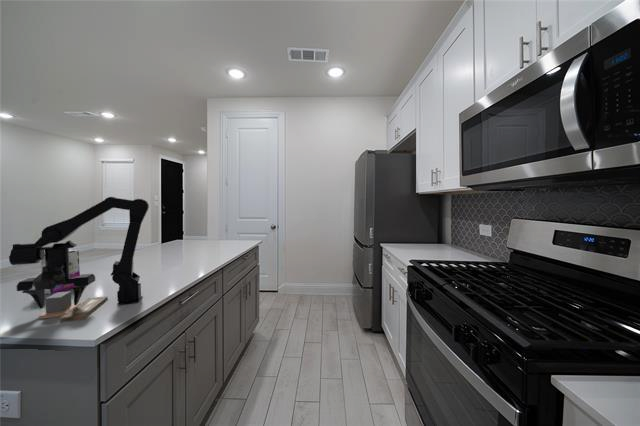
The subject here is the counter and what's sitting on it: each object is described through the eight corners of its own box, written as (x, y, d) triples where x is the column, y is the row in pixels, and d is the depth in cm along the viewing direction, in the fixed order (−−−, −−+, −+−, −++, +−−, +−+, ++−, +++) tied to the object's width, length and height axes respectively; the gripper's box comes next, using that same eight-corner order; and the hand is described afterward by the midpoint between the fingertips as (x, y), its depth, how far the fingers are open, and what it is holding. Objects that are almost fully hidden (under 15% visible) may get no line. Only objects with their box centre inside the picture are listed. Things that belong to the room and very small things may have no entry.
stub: (80, 305, 96) (80, 289, 95) (66, 315, 87) (65, 298, 87) (56, 308, 93) (55, 291, 93) (39, 318, 85) (38, 300, 85)
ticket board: (107, 299, 102) (107, 296, 102) (83, 319, 85) (83, 315, 85) (88, 301, 100) (88, 297, 100) (60, 321, 83) (60, 317, 83)
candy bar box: (72, 285, 118) (70, 249, 118) (80, 286, 117) (79, 249, 117) (41, 293, 107) (39, 254, 107) (50, 294, 106) (49, 254, 106)
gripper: (1, 269, 79) (3, 320, 79) (78, 265, 85) (80, 312, 86) (28, 261, 89) (30, 306, 90) (95, 257, 95) (96, 300, 96)
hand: (59, 306), depth 90 cm, fingers open, 9 cm apart
